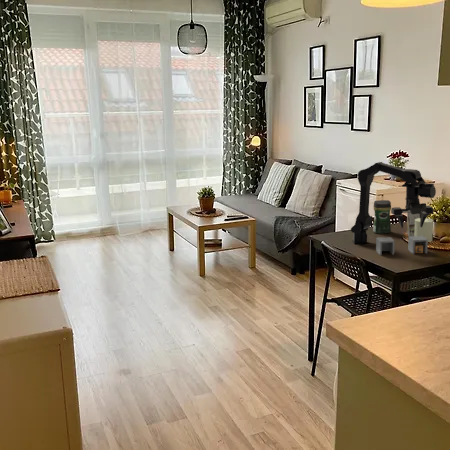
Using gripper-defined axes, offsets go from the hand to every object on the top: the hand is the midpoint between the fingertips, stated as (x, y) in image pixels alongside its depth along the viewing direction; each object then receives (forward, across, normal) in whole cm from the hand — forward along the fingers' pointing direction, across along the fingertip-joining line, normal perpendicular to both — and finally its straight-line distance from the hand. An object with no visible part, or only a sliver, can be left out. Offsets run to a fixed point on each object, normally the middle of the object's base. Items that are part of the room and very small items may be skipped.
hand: (411, 227), depth 251 cm
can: (+13, +12, +19) cm, 26 cm away
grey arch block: (+13, +3, +1) cm, 13 cm away
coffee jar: (+12, -4, +40) cm, 42 cm away
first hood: (+12, -13, 0) cm, 18 cm away
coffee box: (+12, +11, +31) cm, 35 cm away
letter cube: (+13, +3, 0) cm, 13 cm away
